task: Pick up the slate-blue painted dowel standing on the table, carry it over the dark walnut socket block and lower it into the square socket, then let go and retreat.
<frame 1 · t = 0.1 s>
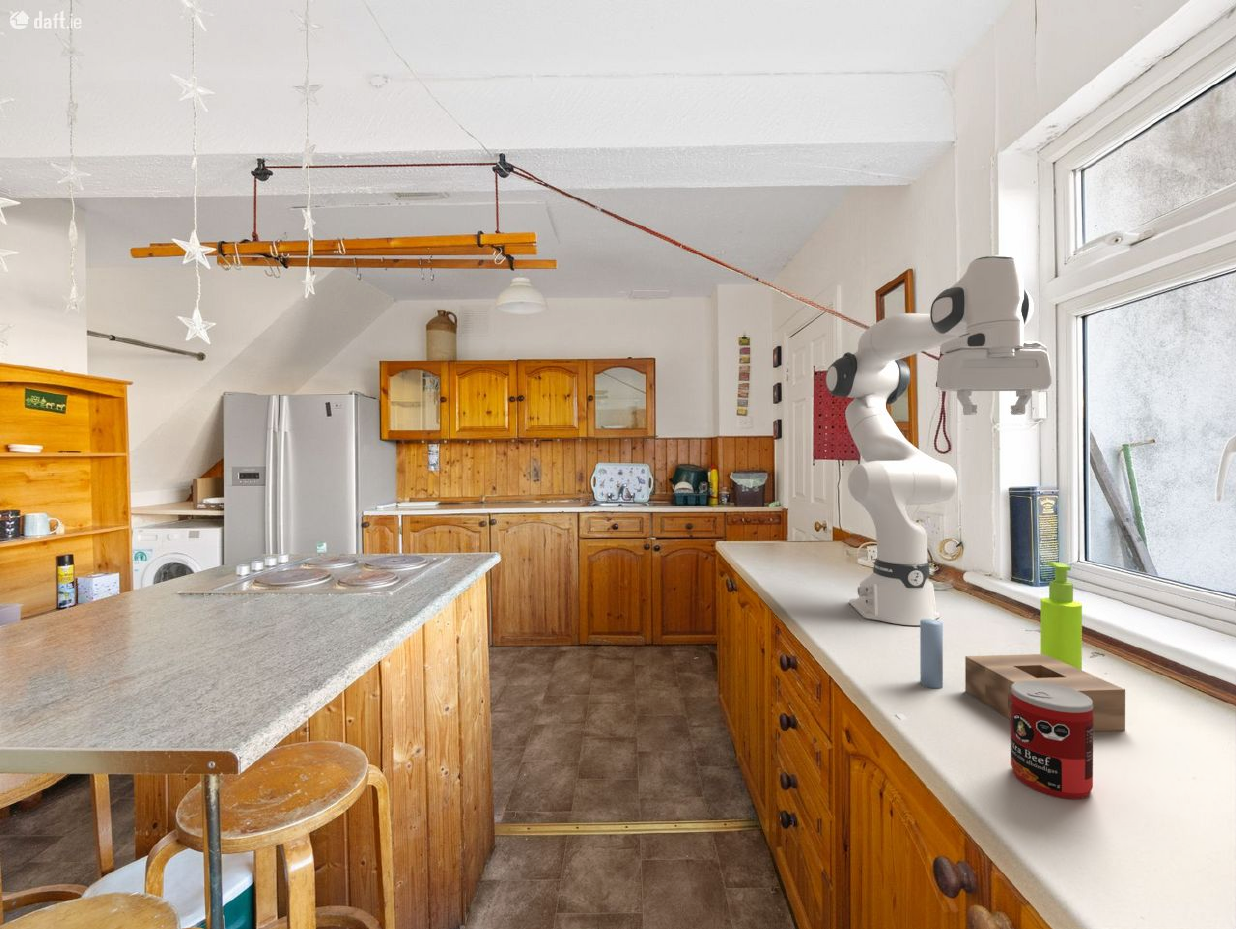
hand: (994, 414, 102), 48 cm above the countertop, fingers open, 8 cm apart
socket block: (1038, 709, 85), on the countertop
canned food: (1050, 782, 66), on the countertop
dowel: (931, 684, 94), on the countertop
soap dispenser: (1059, 672, 99), on the countertop
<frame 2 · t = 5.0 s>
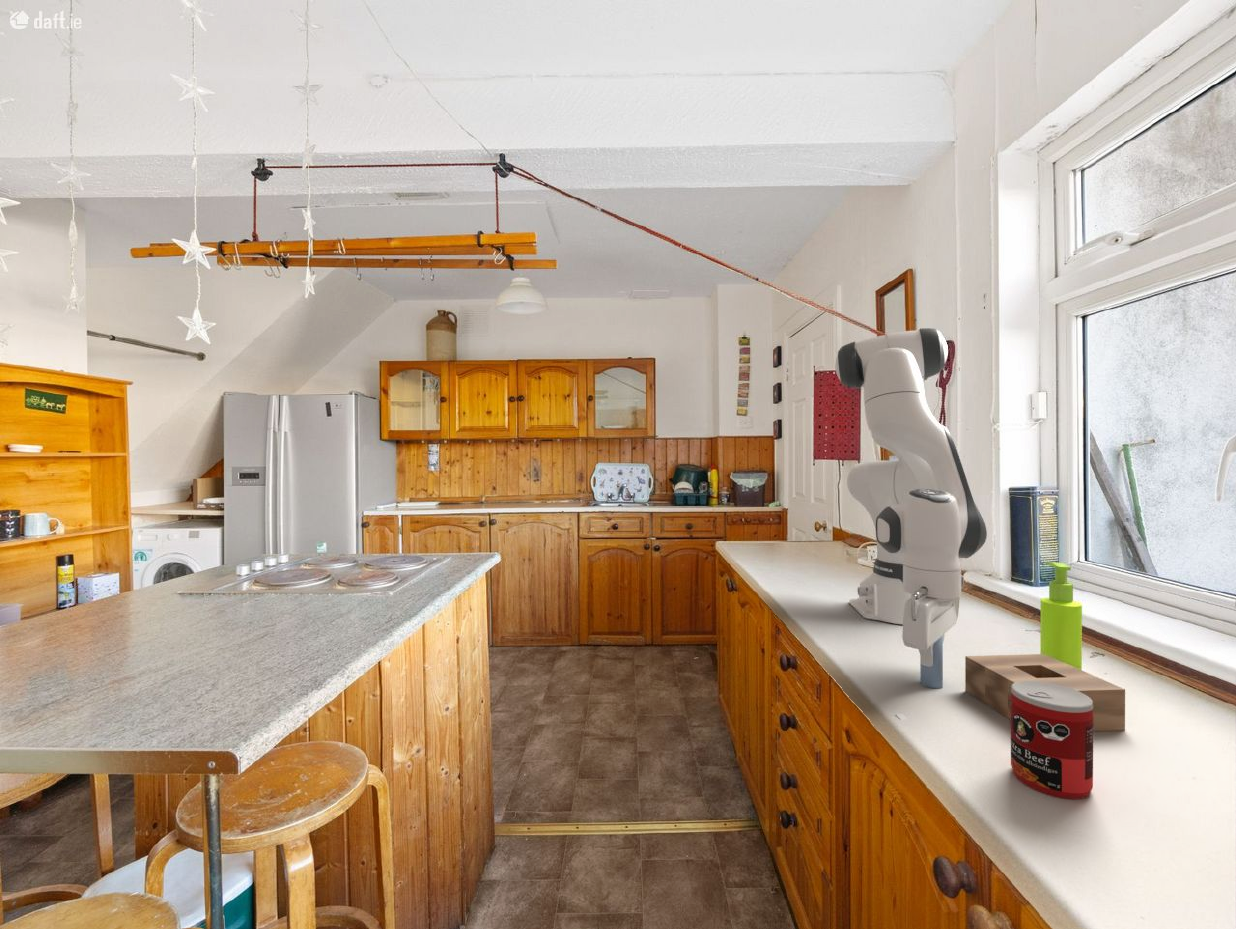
hand: (931, 661, 94), 4 cm above the countertop, fingers closed on dowel, 3 cm apart
dowel: (931, 684, 94), on the countertop, touching gripper
everything else where it was.
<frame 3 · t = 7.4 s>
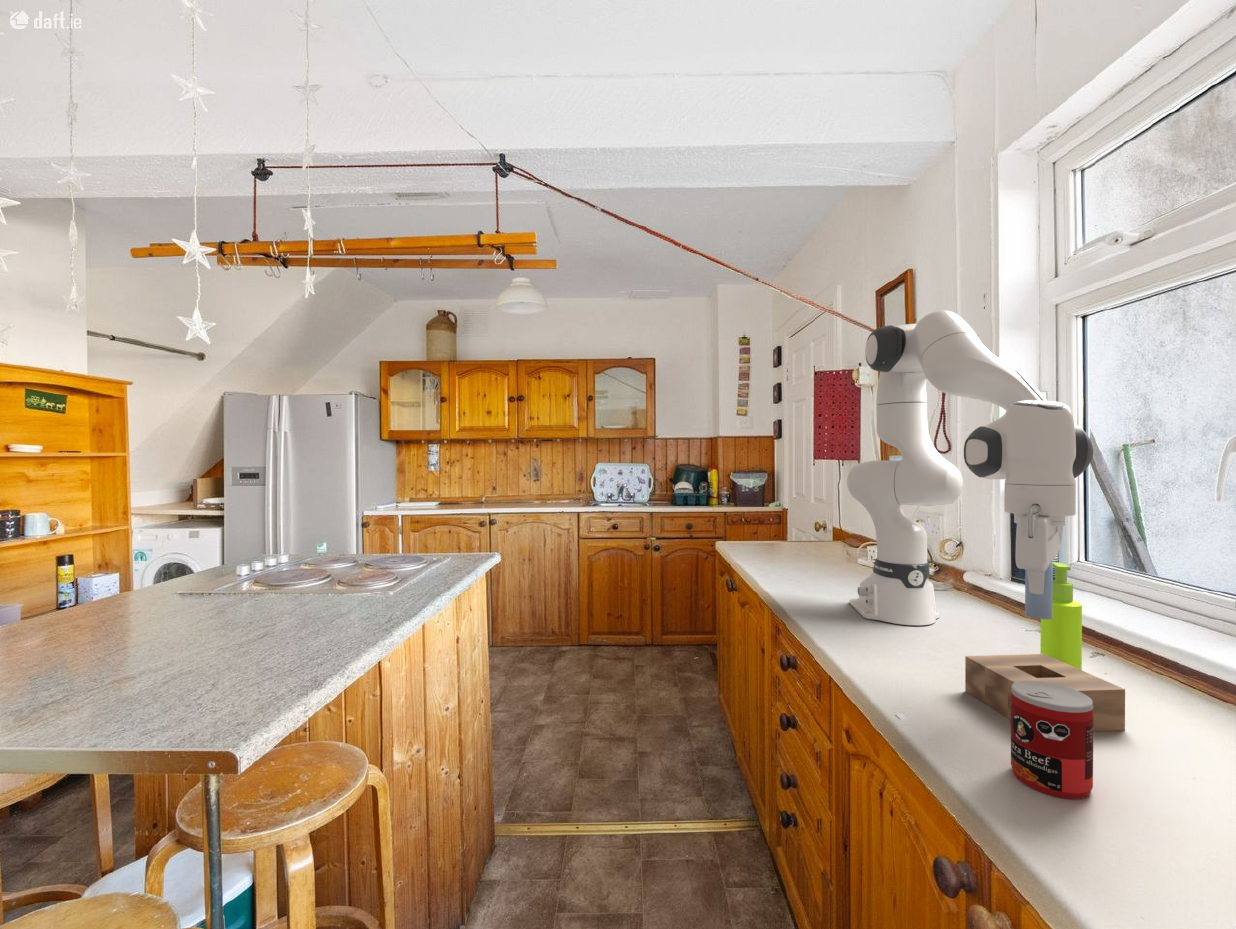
hand: (1038, 590, 84), 19 cm above the countertop, fingers closed on dowel, 3 cm apart
dowel: (1038, 616, 85), point 15 cm above the countertop, touching gripper
everything else where it was.
when the fingers open (7 cm above the countertop, at t = 9.9 s): dowel drops 2 cm, resting on socket block.
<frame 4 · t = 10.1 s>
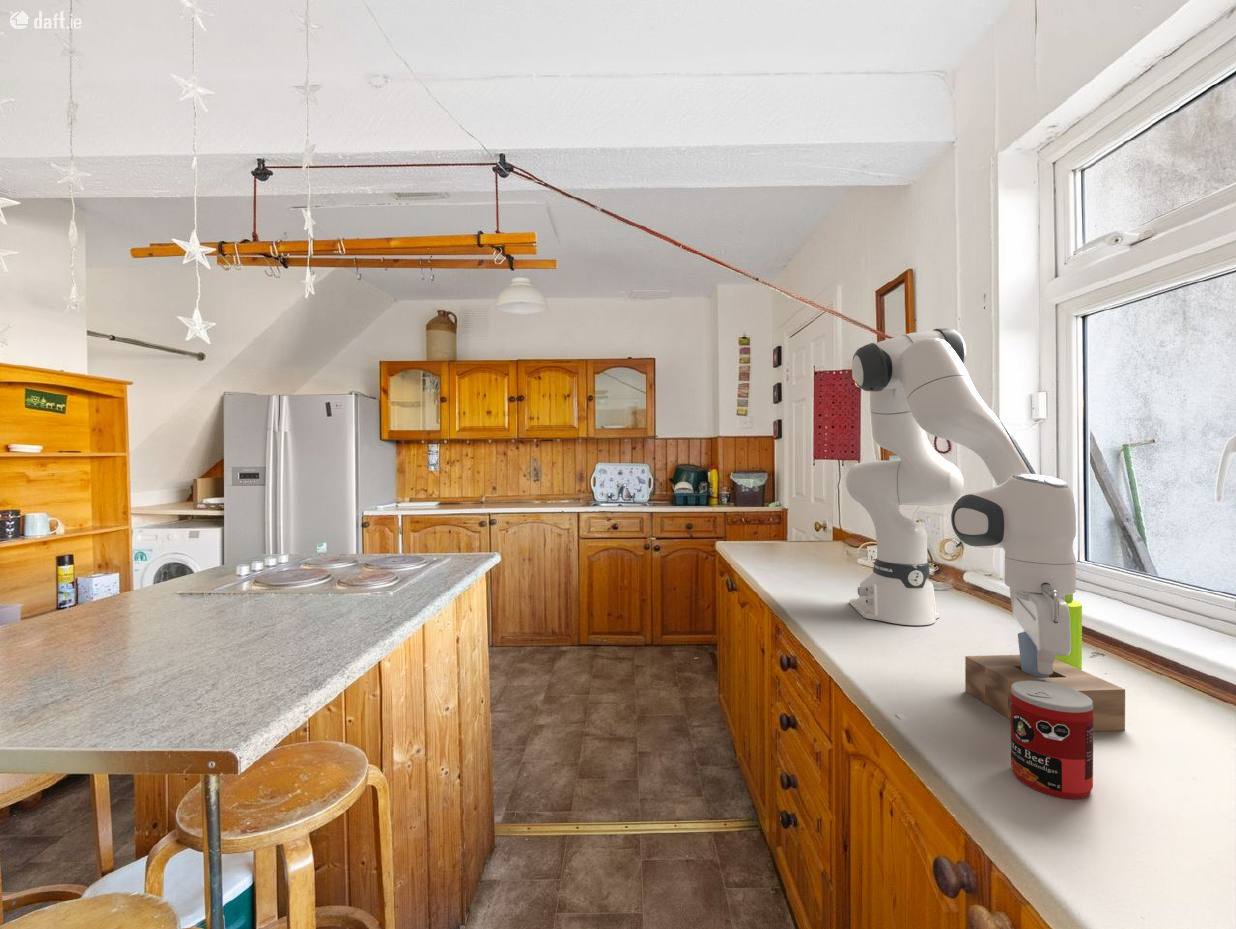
hand: (1038, 664, 85), 7 cm above the countertop, fingers open, 5 cm apart
dowel: (1038, 704, 85), point 1 cm above the countertop, tilted 5°, touching socket block
everything else where it was.
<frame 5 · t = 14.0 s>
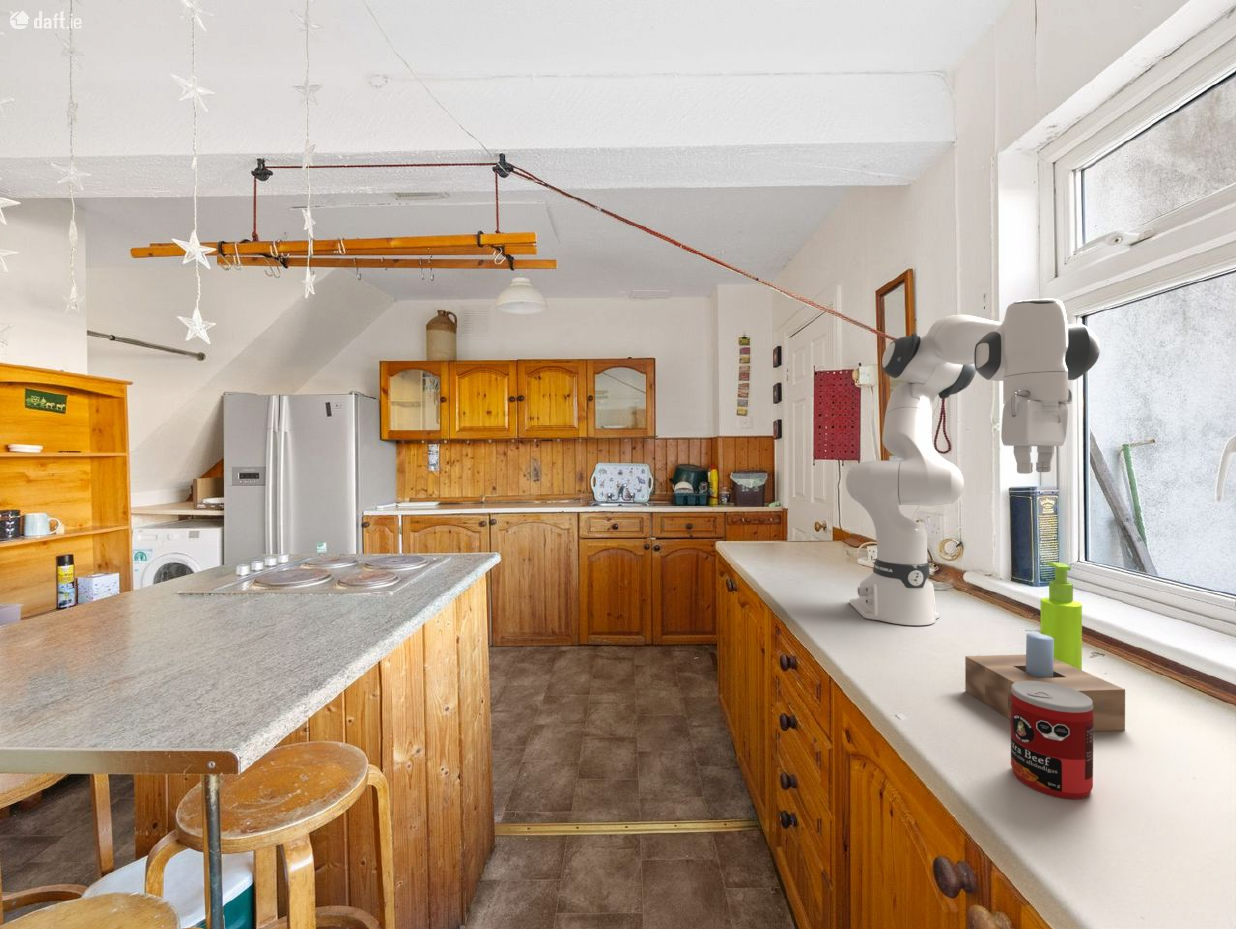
hand: (1034, 472, 92), 37 cm above the countertop, fingers open, 8 cm apart
at the end: dowel 0.1 cm off-centre on the socket block, point 0.5 cm above the socket block's base; dowel tilted 1°; the gripper is holding nothing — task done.
